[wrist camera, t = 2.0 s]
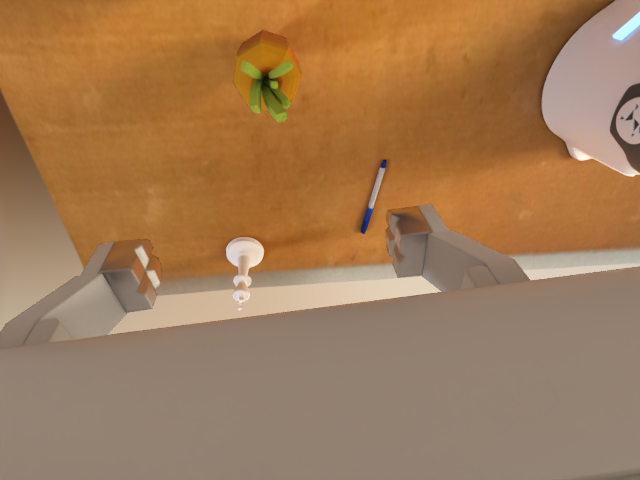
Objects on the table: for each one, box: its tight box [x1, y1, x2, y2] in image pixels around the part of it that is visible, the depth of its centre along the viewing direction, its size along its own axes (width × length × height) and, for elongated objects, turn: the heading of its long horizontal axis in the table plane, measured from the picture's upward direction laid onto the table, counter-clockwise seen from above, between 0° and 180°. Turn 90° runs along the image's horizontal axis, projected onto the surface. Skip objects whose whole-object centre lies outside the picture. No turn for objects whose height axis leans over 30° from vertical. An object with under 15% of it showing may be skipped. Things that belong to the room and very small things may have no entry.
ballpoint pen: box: [361, 160, 386, 234], centre depth 46 cm, size 10×1×1 cm, turn 171°
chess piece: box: [226, 237, 264, 311], centre depth 45 cm, size 5×5×10 cm
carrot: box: [233, 30, 302, 122], centre depth 28 cm, size 5×5×15 cm
